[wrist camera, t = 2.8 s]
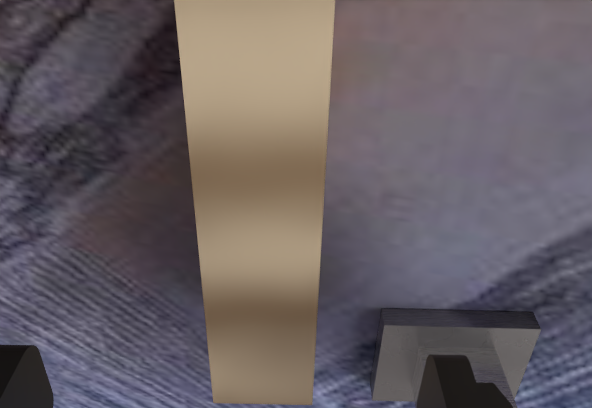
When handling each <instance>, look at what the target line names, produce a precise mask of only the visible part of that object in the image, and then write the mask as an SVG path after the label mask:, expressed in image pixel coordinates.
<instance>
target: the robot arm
mask: <svg viewBox="0 0 592 408" xmlns="http://www.w3.org/2000/svg"><path fill="white" fill-rule="evenodd" d="M0 408H53V392H52V389H51V386H50V383H49V380H48V377H47V374H46V371H45V367H44V364H43V361H42V358H41V355H40V352H39V350H38V348H37V347H36V346H34V345H0ZM417 408H513V407H512V404H511V403H510V402H509V401H508V400H507V398H506V397H505V396H504V395H503V394H502V392H501V391H500V390H499V389H498V388H497V386H496V385H495V384H494V383H484V382H476V380H475V377H474V373H473V370H472V367H471V364H470V362H469V359H468V358H467V356H465V355H434V354H430V355H428V357H427V359H426V364H425V368H424V372H423V377H422V381H421V386H420V390H419V395H418V399H417Z"/></svg>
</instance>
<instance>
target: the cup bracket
mask: <svg viewBox="0 0 592 408" xmlns="http://www.w3.org/2000/svg"><path fill="white" fill-rule="evenodd" d="M540 331H541V328H540V326H539V324H538V322H537V320H536V318H535V316H534V313H533V312H498V311H459V310H420V309H382V308H381V315H380V321H379V328H378V334H377V341H376V347H375V354H374V360H373V367H372V373H371V379H370V387H371V396H372V400H377V401H414V402H415V407H416V408H417V399H418V395H419V390H420V386H421V381H422V377H423V372H424V368H425V364H426V359H427V357H428V355H430V354H434V355H465V356H467V358H468V359H469V362H470V364H471V367H472V370H473V373H474V377H475V380H476V382H484V383H494V384H495V385H496V386H497V388H498V389H499V390H500V391H501V392H502V394H503V395H504V396H505V397H506V398H507V400H508V401H509V402H510V403H511V404H512V407H513V408H517V406H516V403H515V400H514V399H515V396H516V394H517V391H518V388H519V386H520V383H521V380H522V378H523V375H524V373H525V370H526V367H527V365H528V362H529V360H530V357H531V354H532V352H533V349H534V346H535V344H536V341H537V339H538V336H539V333H540Z"/></svg>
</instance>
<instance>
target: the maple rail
mask: <svg viewBox="0 0 592 408" xmlns="http://www.w3.org/2000/svg"><path fill="white" fill-rule="evenodd" d="M174 4H175V14H176V24H177V34H178V45H179V55H180V65H181V75H182V86H183V96H184V106H185V116H186V127H187V137H188V147H189V157H190V168H191V178H192V188H193V198H194V209H195V219H196V229H197V239H198V250H199V260H200V270H201V280H202V291H203V301H204V311H205V321H206V332H207V342H208V352H209V362H210V373H211V383H212V393H213V403H240V404H289V405H312V399H313V381H314V363H315V346H316V328H317V310H318V293H319V275H320V258H321V240H322V222H323V205H324V187H325V169H326V152H327V134H328V117H329V99H330V81H331V64H332V46H333V28H334V11H335V0H174Z"/></svg>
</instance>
